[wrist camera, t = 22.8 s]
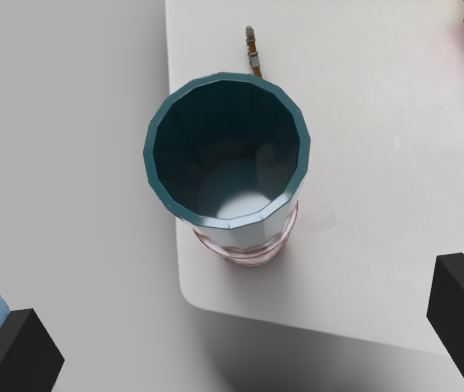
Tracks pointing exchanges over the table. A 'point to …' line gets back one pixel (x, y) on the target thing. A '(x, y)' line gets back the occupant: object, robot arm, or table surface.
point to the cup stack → (260, 255)
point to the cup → (229, 158)
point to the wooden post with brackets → (253, 51)
